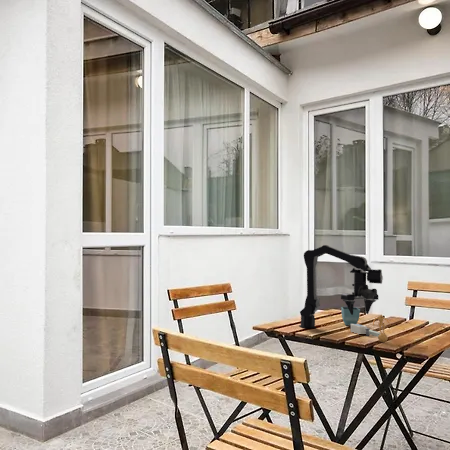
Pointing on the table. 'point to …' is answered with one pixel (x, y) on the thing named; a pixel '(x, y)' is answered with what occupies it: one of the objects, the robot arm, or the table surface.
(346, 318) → the flower pot
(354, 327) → the cream rectangular block
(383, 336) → the figurine
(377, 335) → the rail
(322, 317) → the table surface
